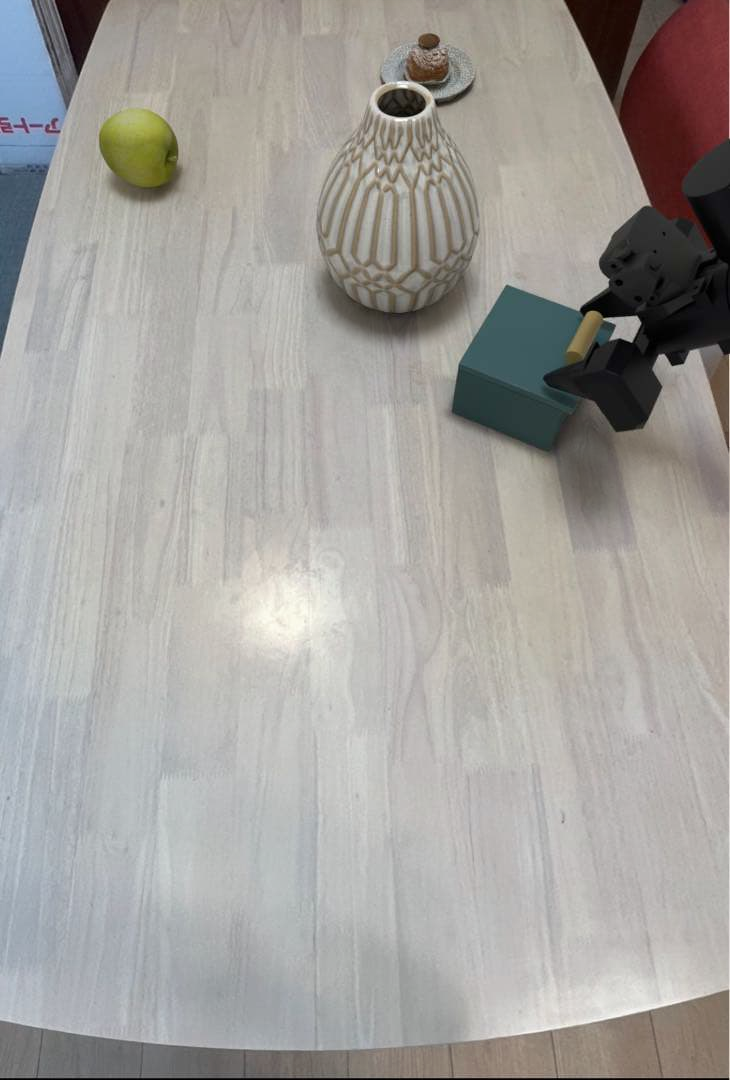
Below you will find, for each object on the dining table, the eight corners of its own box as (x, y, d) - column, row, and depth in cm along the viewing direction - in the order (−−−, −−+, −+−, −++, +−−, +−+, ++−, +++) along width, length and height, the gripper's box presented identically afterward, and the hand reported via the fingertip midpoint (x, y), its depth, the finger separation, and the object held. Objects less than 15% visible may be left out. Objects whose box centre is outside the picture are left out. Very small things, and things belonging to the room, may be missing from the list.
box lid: (614, 330, 69) (627, 296, 65) (572, 415, 64) (584, 383, 61) (505, 290, 71) (512, 255, 67) (457, 369, 67) (462, 336, 63)
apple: (176, 209, 86) (158, 145, 79) (103, 196, 87) (78, 131, 80) (200, 165, 89) (185, 99, 82) (129, 152, 90) (108, 86, 83)
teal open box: (588, 372, 74) (605, 328, 69) (548, 452, 70) (563, 411, 65) (495, 336, 77) (504, 290, 71) (451, 412, 73) (457, 369, 67)
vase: (335, 350, 76) (323, 176, 58) (310, 240, 83) (292, 55, 65) (487, 325, 77) (521, 148, 60) (449, 219, 84) (470, 32, 67)
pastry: (481, 56, 98) (486, 19, 94) (464, 114, 93) (468, 76, 89) (392, 44, 99) (393, 6, 95) (370, 100, 94) (370, 62, 90)
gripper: (737, 122, 53) (557, 204, 66) (653, 296, 46) (468, 352, 58) (793, 247, 59) (617, 301, 71) (725, 421, 51) (542, 448, 64)
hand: (564, 345), depth 66 cm, fingers open, 8 cm apart
